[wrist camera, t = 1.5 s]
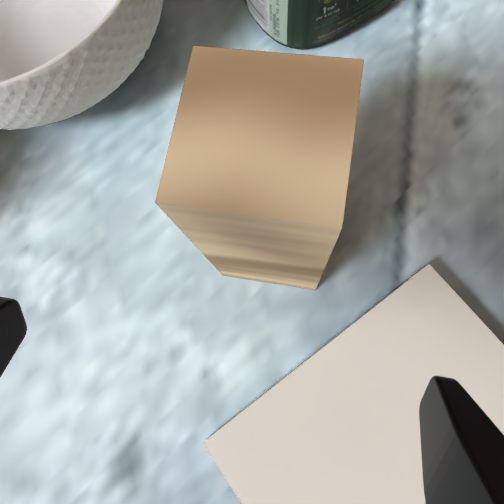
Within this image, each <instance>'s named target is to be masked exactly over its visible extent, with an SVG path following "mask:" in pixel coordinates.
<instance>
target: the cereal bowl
mask: <svg viewBox="0 0 504 504" xmlns="http://www.w3.org/2000/svg"><path fill="white" fill-rule="evenodd" d="M162 8H163V0H0V129H7V130H14V129H25V128H32V127H39V126H45V125H47V124H51V123H56V122H58V121H60V120H65V119H67V118H71V117H72V116H74V115H77V114H80V113H81V112H83V111H86V110H87V109H88V108H90V107H93V106H94V105H95V104H96V103H99V102H100V101H101V100H102V99H104V98H106V97H107V96H108V95H109V94H111V93H112V92H113V91H114V90H115V89H117V88H118V87H119V86H120V84H121V83H123V82H124V81H125V80H126V79H127V78H128V76H129V75H130V74H131V73H132V72H134V70H135V68H136V67H137V66H138V64H139V62H140V61H141V60H142V59H143V58H144V56H145V52H146V50H148V49H149V47H150V44H151V40H152V38H153V36H154V35H155V33H156V28H157V26H158V24H159V20H160V14H161V12H162Z"/></svg>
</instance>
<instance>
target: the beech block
mask: <svg viewBox="0 0 504 504" xmlns="http://www.w3.org/2000/svg"><path fill="white" fill-rule="evenodd" d="M363 64H364V59H352V58H340V57H327V56H315V55H303V54H290V53H278V52H265V51H253V50H241V49H228V48H216V47H203V46H193V48H192V52H191V56H190V61H189V65H188V69H187V73H186V77H185V81H184V85H183V89H182V93H181V98H180V102H179V106H178V110H177V114H176V118H175V122H174V126H173V131H172V135H171V139H170V143H169V147H168V151H167V155H166V159H165V164H164V168H163V172H162V176H161V180H160V184H159V188H158V192H157V197H156V201H155V203H156V204H157V205H158V206H159V207H160V208H161V209H162V210H163V211H164V213H165V214H166V215H167V216H168V217H169V218H170V219H171V220H172V221H173V222H174V223H175V224H176V225H177V227H178V228H179V229H180V230H181V231H182V232H183V233H184V234H185V235H186V236H187V237H188V238H189V239H190V241H191V242H192V243H193V244H194V245H195V246H196V247H197V248H198V249H199V250H200V251H201V252H202V253H203V255H204V256H205V257H206V258H207V259H208V260H209V261H210V262H211V263H212V264H213V265H214V266H215V267H216V269H217V270H218V271H219V272H220V273H221V274H222V275H224V276H230V277H236V278H243V279H249V280H255V281H262V282H268V283H274V284H280V285H287V286H293V287H299V288H306V289H312V290H316V288H317V285H318V283H319V281H320V278H321V276H322V274H323V271H324V269H325V267H326V265H327V262H328V260H329V258H330V255H331V253H332V251H333V248H334V246H335V244H336V241H337V239H338V237H339V234H340V232H341V230H342V225H343V218H344V210H345V202H346V195H347V187H348V179H349V172H350V164H351V156H352V148H353V141H354V133H355V125H356V118H357V110H358V102H359V94H360V87H361V79H362V71H363Z"/></svg>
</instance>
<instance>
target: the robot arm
mask: <svg viewBox="0 0 504 504" xmlns="http://www.w3.org/2000/svg"><path fill="white" fill-rule="evenodd" d="M26 331H27V325H26V322H25V319H24V316H23V313H22V310H21V307H20V304H19V303H18V301H16V300H15V299H11V298H5V297H0V377H1V375H2V374H3V372H4V370H5V369H6V367H7V365H8V364H9V362H10V360H11V359H12V357H13V355H14V354H15V352H16V350H17V349H18V347H19V345H20V344H21V342H22V340H23V339H24V337H25V335H26ZM419 421H420V438H421V455H422V472H423V486H424V495H425V502H426V504H504V435H503V433H502V432H501V431H500V430H499V429H498V428H497V426H496V425H495V424H494V423H493V422H492V421H491V419H490V418H489V417H488V416H487V415H486V413H485V412H484V411H483V410H482V409H481V408H480V406H479V405H478V404H477V403H476V402H475V401H474V399H473V398H472V397H471V396H470V395H469V394H468V392H467V391H466V390H465V389H464V388H463V387H462V385H461V384H460V383H459V382H458V381H457V380H455V379H453V378H448V377H442V376H433V377H432V378H431V379H430V381H429V383H428V386H427V388H426V390H425V393H424V395H423V397H422V399H421V402H420V407H419Z"/></svg>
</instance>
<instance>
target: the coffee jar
mask: <svg viewBox="0 0 504 504" xmlns="http://www.w3.org/2000/svg"><path fill="white" fill-rule="evenodd" d="M244 1H245V3H246V5H247V7H248V9H249V11H250V13H251V15H252V16H253V18H254V19H255V21H256V22H257V24H258V25H259V26H260V27H261V28H262V30H263V31H264V32H265V33H266V34H267V35H268V36H270V37H271V38H272V39H273V40H275V41H276V42H278V43H279V44H281V45H283V46H286V47H290V48H295V49H309V48H313V47H316V46H319V45H322V44H324V43H326V42H328V41H331V40H333V39H335V38H337V37H339V36H341V35H343V34H345V33H347V32H349V31H351V30H352V29H354V28H355V27H357V26H359V25H361V24H362V23H364V22H366V21H367V20H369V19H370V18H372V17H373V16H374V15H376V14H377V13H379V12H380V11H382V10H383V9H384V8H385V7H387V6H388V5H389V4H390V3H391V2H392V1H393V0H244Z"/></svg>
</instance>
